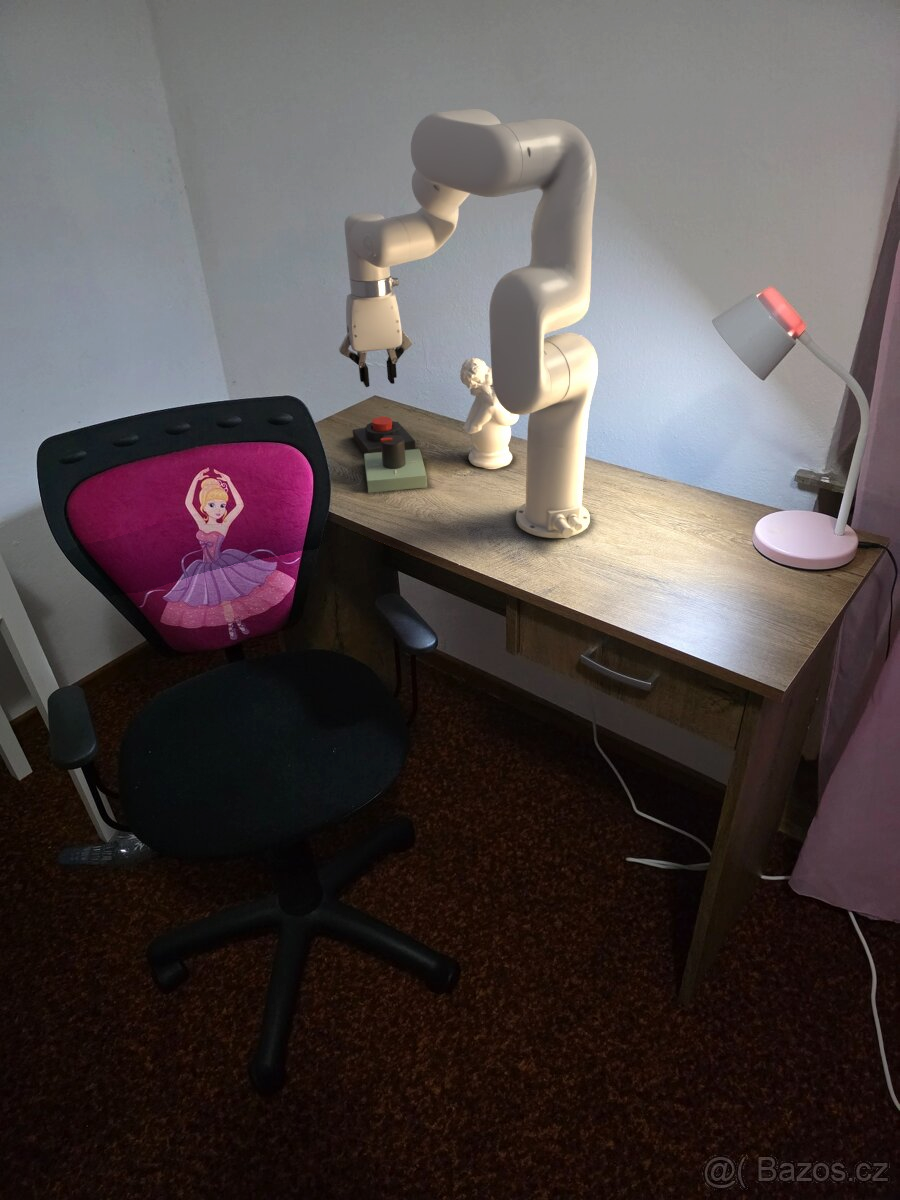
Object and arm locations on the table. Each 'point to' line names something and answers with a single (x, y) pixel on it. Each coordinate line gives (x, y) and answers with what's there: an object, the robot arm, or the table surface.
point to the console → (395, 473)
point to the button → (382, 424)
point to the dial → (393, 451)
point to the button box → (372, 439)
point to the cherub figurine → (486, 418)
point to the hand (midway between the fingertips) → (378, 382)
